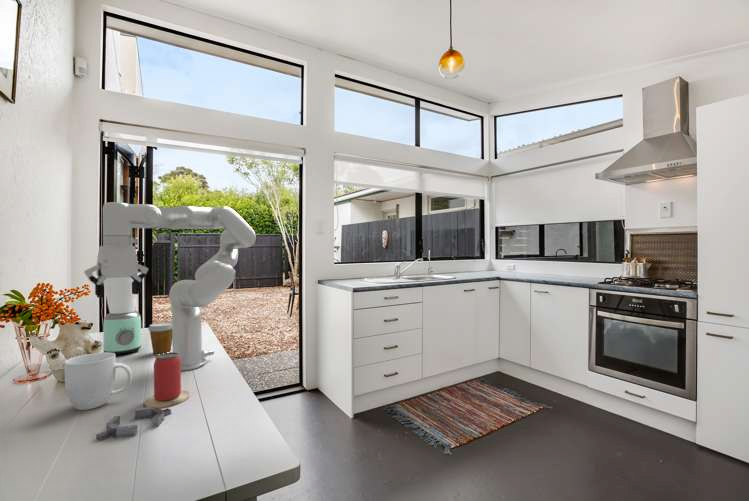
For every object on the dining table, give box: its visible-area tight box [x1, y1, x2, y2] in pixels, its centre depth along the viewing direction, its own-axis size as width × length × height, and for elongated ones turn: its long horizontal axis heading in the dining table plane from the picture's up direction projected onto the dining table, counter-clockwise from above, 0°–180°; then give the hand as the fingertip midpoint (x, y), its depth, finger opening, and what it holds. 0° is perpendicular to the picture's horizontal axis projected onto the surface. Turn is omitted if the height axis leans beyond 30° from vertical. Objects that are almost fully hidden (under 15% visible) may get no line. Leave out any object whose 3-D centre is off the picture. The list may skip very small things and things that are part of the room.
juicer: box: [102, 270, 142, 357], centre depth 150 cm, size 19×13×35 cm
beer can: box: [153, 351, 182, 401], centre depth 101 cm, size 7×7×12 cm
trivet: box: [144, 389, 190, 409], centre depth 101 cm, size 11×11×1 cm
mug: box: [64, 351, 133, 411], centre depth 99 cm, size 15×11×13 cm
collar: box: [95, 406, 172, 442], centre depth 86 cm, size 16×10×2 cm
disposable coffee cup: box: [148, 321, 172, 355], centre depth 148 cm, size 10×10×12 cm
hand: (118, 295), depth 113 cm, fingers open, 9 cm apart
